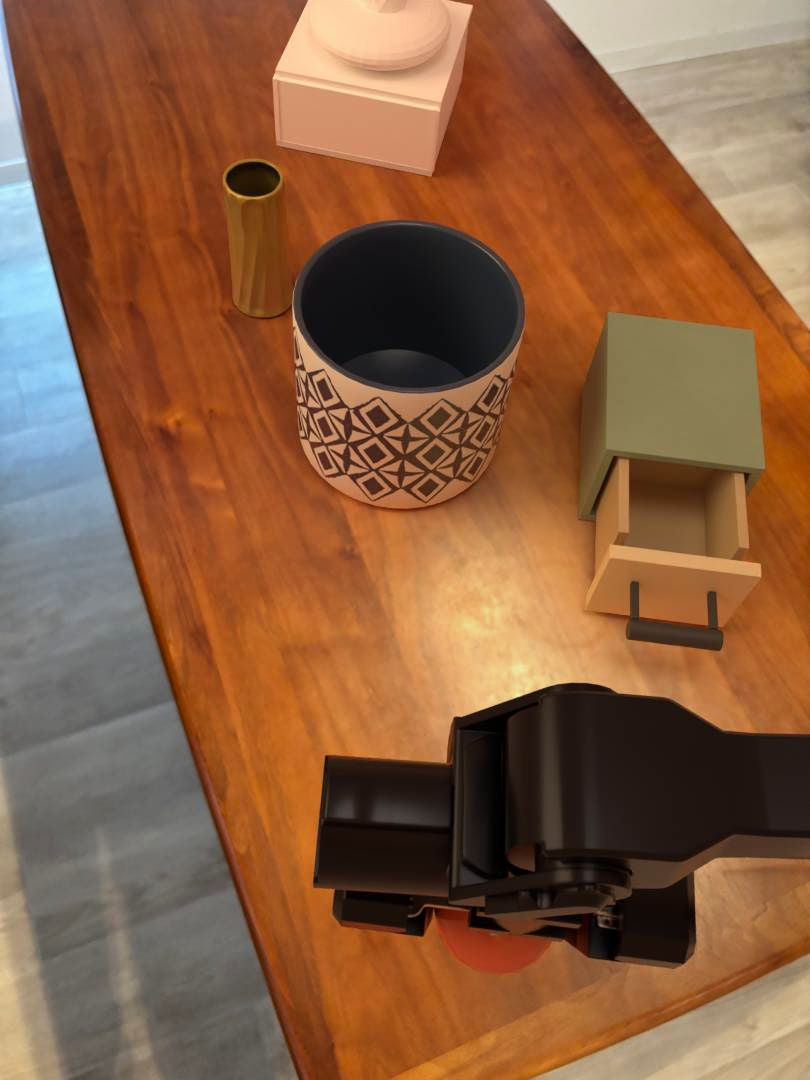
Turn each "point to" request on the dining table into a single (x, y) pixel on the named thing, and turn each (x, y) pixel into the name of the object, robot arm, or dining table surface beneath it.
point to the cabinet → (670, 400)
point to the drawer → (671, 550)
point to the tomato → (487, 945)
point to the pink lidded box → (372, 80)
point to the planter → (404, 360)
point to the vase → (258, 238)
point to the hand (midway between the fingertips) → (492, 912)
